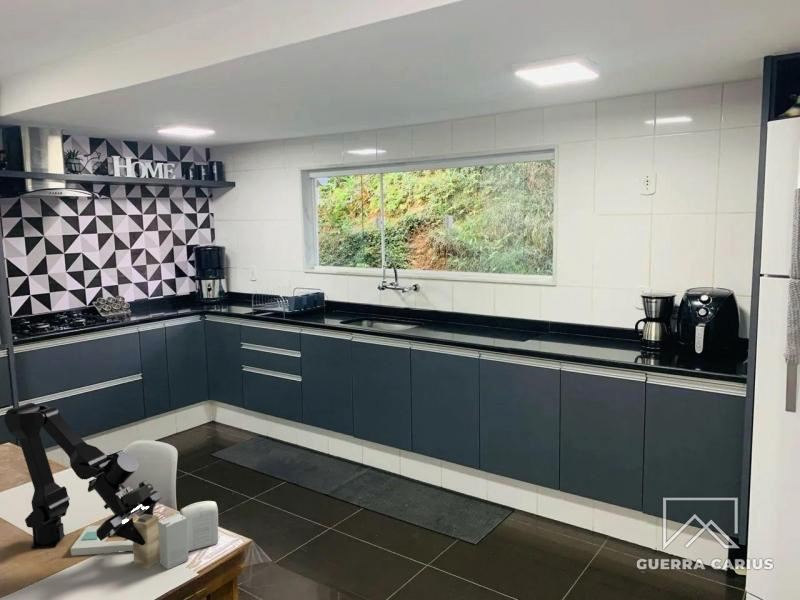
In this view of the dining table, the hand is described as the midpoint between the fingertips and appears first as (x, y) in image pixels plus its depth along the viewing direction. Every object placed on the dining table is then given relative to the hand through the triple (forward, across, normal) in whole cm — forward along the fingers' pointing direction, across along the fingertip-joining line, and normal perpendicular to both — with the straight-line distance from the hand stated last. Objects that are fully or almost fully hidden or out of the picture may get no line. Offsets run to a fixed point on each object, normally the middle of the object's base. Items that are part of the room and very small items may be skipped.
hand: (150, 539), depth 155 cm
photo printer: (+9, +11, 0) cm, 15 cm away
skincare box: (+9, +2, +1) cm, 9 cm away
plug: (+4, 0, +6) cm, 7 cm away
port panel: (-7, +6, +16) cm, 19 cm away
